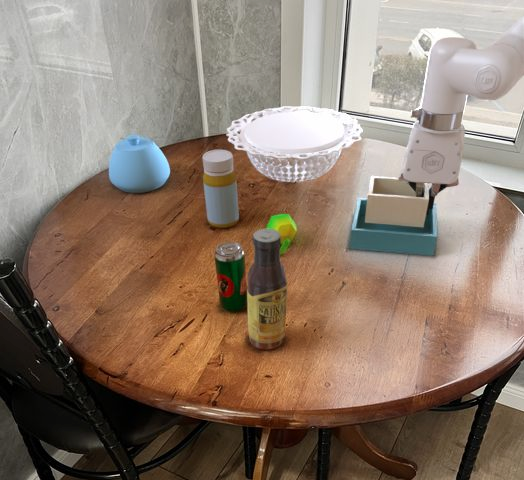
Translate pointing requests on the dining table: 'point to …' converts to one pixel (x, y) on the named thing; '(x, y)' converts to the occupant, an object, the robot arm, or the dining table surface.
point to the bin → (393, 234)
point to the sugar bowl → (138, 165)
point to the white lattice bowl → (294, 140)
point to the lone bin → (395, 203)
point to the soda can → (231, 276)
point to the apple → (283, 229)
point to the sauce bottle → (266, 292)
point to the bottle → (220, 188)
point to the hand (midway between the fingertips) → (422, 210)
